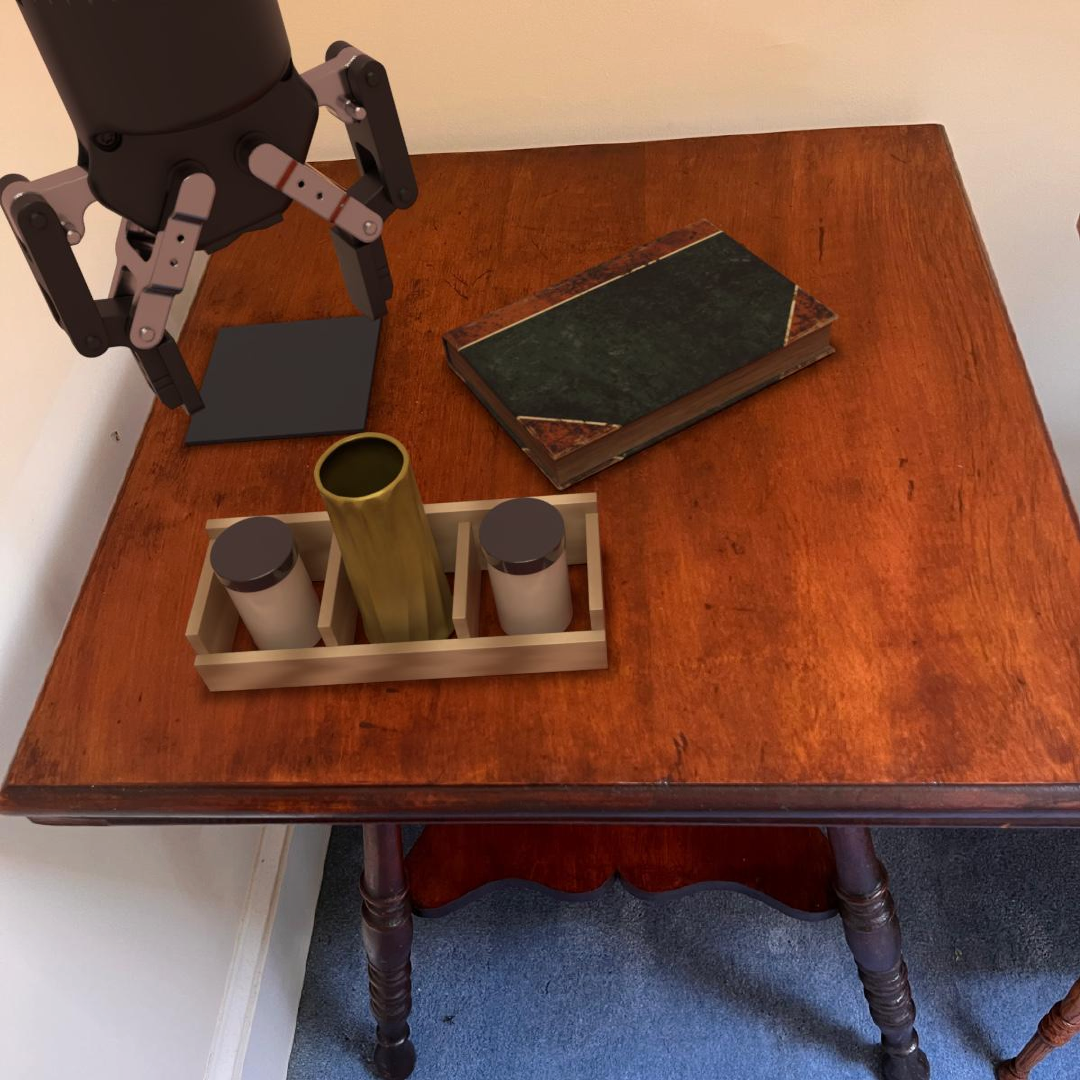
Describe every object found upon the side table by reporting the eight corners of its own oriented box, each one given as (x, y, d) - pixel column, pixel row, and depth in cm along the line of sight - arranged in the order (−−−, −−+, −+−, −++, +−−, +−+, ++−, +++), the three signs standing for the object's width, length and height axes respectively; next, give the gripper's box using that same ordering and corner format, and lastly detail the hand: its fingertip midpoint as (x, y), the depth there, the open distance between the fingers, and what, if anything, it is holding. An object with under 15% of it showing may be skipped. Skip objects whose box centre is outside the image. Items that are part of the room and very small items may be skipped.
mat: (186, 445, 79) (184, 442, 79) (221, 331, 89) (219, 327, 88) (364, 432, 78) (363, 428, 78) (382, 317, 88) (381, 313, 87)
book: (557, 494, 72) (836, 353, 79) (553, 458, 70) (842, 315, 76) (445, 364, 83) (700, 249, 89) (437, 328, 80) (701, 212, 87)
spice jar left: (245, 662, 66) (201, 583, 59) (259, 599, 69) (218, 518, 63) (323, 658, 65) (286, 577, 59) (332, 595, 68) (299, 512, 62)
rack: (210, 692, 64) (175, 636, 60) (237, 577, 70) (207, 519, 66) (608, 668, 63) (602, 610, 58) (601, 553, 69) (596, 491, 64)
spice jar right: (495, 647, 64) (477, 565, 58) (497, 584, 68) (480, 500, 62) (575, 642, 64) (565, 559, 58) (573, 579, 67) (563, 494, 61)
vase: (351, 652, 65) (287, 500, 54) (383, 577, 69) (329, 420, 58) (442, 666, 64) (395, 513, 53) (470, 589, 68) (431, 431, 57)
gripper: (280, -163, 35) (381, 247, 47) (-147, -27, 30) (89, 389, 43) (393, -116, 31) (472, 322, 43) (-82, 51, 26) (159, 488, 38)
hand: (282, 355), depth 43 cm, fingers open, 8 cm apart
